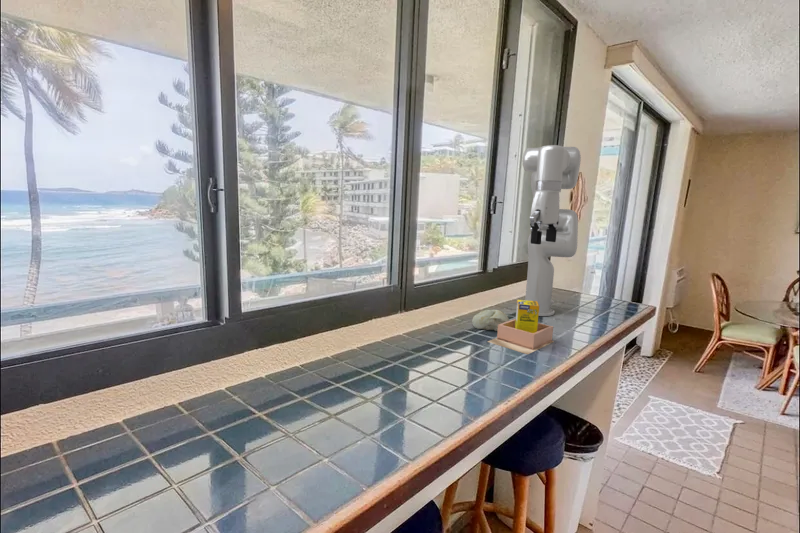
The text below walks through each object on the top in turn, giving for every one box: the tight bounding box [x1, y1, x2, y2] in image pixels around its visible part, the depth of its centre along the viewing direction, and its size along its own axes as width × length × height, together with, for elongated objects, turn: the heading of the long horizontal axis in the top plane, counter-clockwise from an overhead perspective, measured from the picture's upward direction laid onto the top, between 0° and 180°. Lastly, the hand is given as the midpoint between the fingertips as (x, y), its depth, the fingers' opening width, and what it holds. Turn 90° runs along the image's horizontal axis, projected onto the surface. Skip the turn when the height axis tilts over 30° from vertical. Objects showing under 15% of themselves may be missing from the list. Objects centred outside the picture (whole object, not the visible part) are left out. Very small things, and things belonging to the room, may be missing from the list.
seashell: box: [471, 309, 511, 332], centre depth 132 cm, size 13×8×10 cm
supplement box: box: [515, 299, 539, 333], centre depth 121 cm, size 6×6×11 cm
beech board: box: [487, 337, 555, 355], centre depth 120 cm, size 16×13×1 cm
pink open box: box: [496, 318, 554, 350], centre depth 121 cm, size 12×12×4 cm
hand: (543, 242), depth 128 cm, fingers open, 9 cm apart
